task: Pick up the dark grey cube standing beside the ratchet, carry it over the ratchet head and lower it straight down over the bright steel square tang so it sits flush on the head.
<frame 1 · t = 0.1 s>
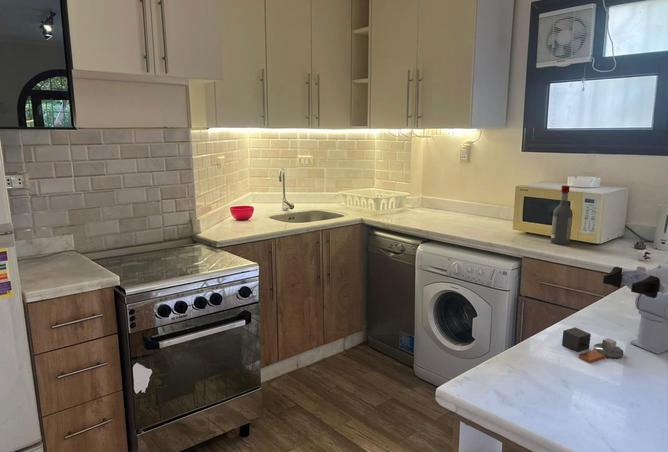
hand: (618, 283, 128), 22 cm above the countertop, tool horizontal, fingers open, 7 cm apart
ratchet: (607, 352, 137), on the countertop
liquor: (559, 243, 260), on the countertop
dark grey cube: (575, 346, 141), on the countertop
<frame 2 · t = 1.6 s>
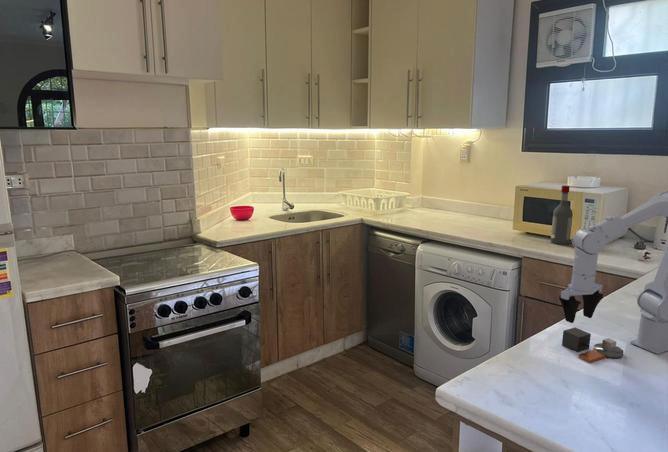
hand: (578, 319, 139), 8 cm above the countertop, tool pointing down, fingers open, 7 cm apart
nothing on the countertop moved.
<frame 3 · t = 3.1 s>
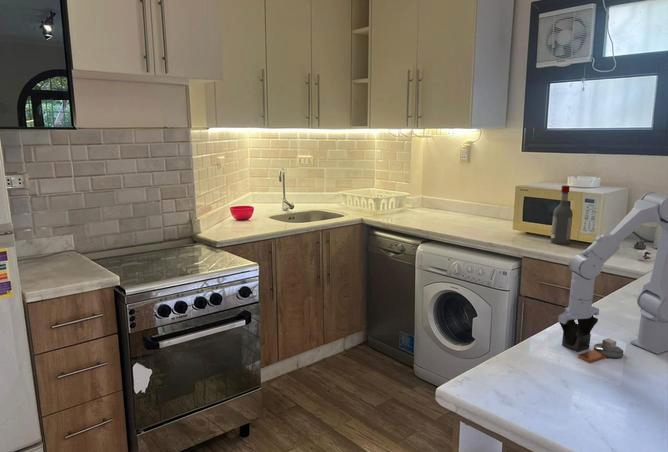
hand: (575, 342, 140), 1 cm above the countertop, tool pointing down, fingers closed on dark grey cube, 5 cm apart
dark grey cube: (575, 346, 141), on the countertop, touching gripper
everything else where it was.
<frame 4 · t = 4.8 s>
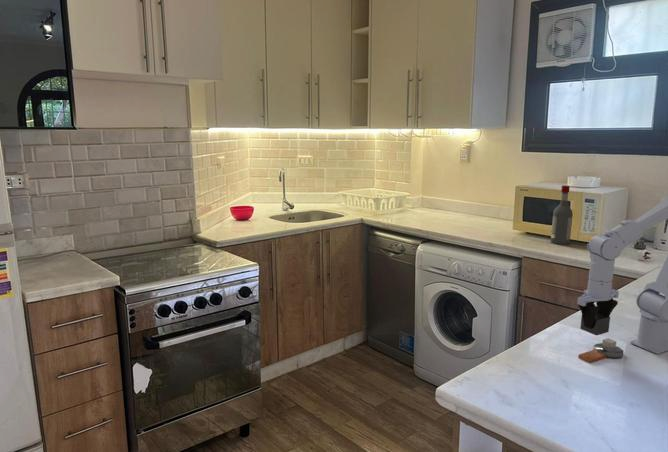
hand: (595, 325, 137), 7 cm above the countertop, tool pointing down, fingers closed on dark grey cube, 5 cm apart
dark grey cube: (594, 330, 138), point 6 cm above the countertop, touching gripper
everything else where it was.
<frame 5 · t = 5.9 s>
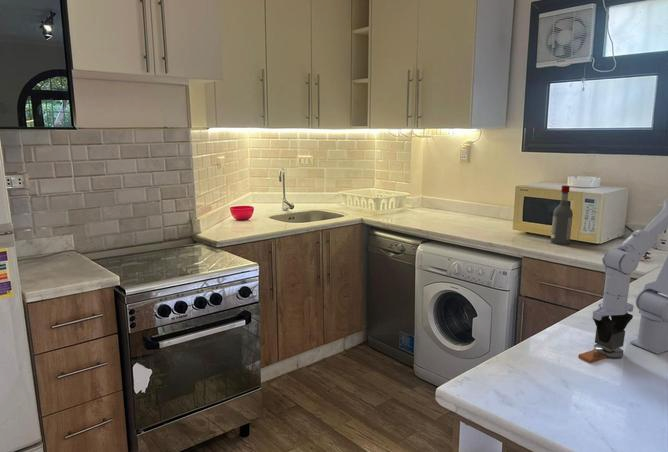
hand: (609, 339, 136), 4 cm above the countertop, tool pointing down, fingers closed on dark grey cube, 5 cm apart
dark grey cube: (608, 344, 137), point 2 cm above the countertop, touching gripper
everything else where it was.
when the fingers open (3 cm above the countertop, at t = 6.6 s): dark grey cube stays where it is, resting on ratchet.
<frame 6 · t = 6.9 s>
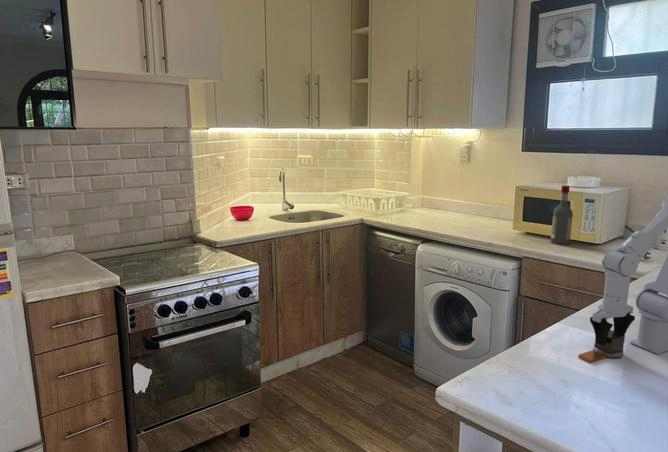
hand: (609, 341, 136), 3 cm above the countertop, tool pointing down, fingers open, 7 cm apart
ratchet: (608, 353, 137), on the countertop, touching dark grey cube
dark grey cube: (608, 349, 137), point 1 cm above the countertop, touching ratchet
everything else where it was.
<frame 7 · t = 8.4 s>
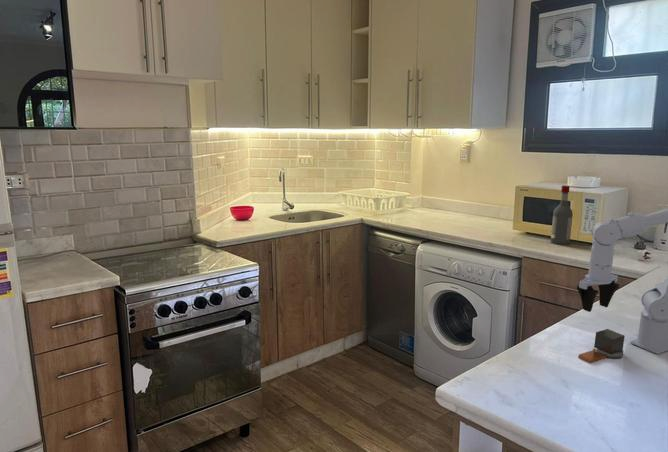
hand: (595, 308, 144), 9 cm above the countertop, tool pointing down, fingers open, 7 cm apart
nothing on the countertop moved.
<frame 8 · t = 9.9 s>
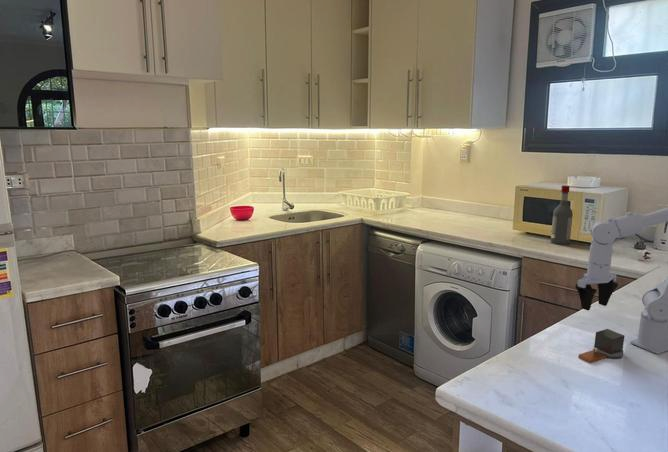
hand: (594, 307, 145), 9 cm above the countertop, tool pointing down, fingers open, 7 cm apart
nothing on the countertop moved.
at the end: dark grey cube 0.1 cm off-centre on the ratchet, point 1.2 cm above the ratchet's base; dark grey cube tilted 0°; ratchet moved 0.1 cm from its start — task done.
